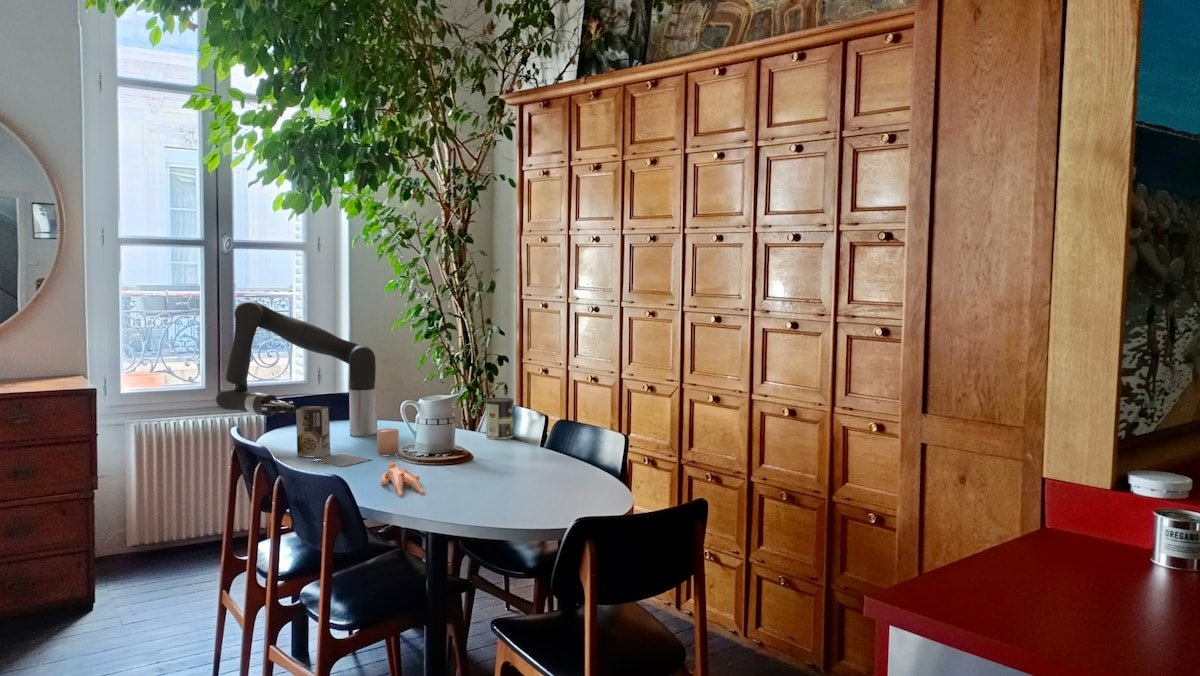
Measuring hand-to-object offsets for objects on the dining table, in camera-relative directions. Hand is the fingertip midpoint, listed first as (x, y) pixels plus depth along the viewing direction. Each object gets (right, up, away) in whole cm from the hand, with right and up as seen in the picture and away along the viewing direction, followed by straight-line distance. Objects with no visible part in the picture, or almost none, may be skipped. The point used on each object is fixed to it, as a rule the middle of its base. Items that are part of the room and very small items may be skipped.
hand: (294, 409), depth 291 cm
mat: (+19, -16, -11) cm, 27 cm away
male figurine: (+45, -19, -41) cm, 64 cm away
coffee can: (+65, -13, +31) cm, 74 cm away
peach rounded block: (+31, -15, 0) cm, 35 cm away
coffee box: (+8, -15, -4) cm, 17 cm away
